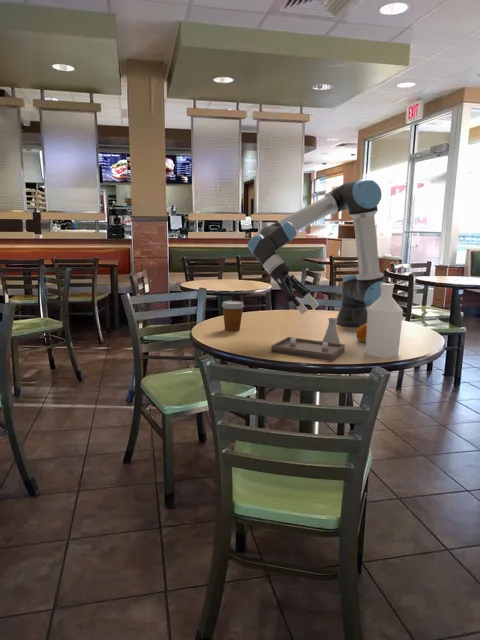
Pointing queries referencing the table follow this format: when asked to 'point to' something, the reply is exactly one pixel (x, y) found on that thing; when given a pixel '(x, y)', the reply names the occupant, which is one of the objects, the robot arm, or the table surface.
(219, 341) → the table surface
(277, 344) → the caddy tray
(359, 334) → the fruit
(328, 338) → the flask
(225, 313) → the disposable coffee cup
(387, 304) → the bottle
